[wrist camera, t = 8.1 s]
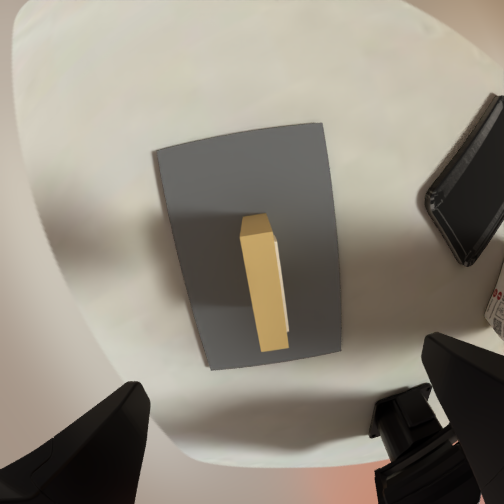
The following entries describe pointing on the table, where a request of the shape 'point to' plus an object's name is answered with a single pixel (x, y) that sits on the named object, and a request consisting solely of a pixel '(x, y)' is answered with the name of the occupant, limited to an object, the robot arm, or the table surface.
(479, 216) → the phone
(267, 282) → the ochre block
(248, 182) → the charcoal mat
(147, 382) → the table surface
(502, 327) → the juice carton
